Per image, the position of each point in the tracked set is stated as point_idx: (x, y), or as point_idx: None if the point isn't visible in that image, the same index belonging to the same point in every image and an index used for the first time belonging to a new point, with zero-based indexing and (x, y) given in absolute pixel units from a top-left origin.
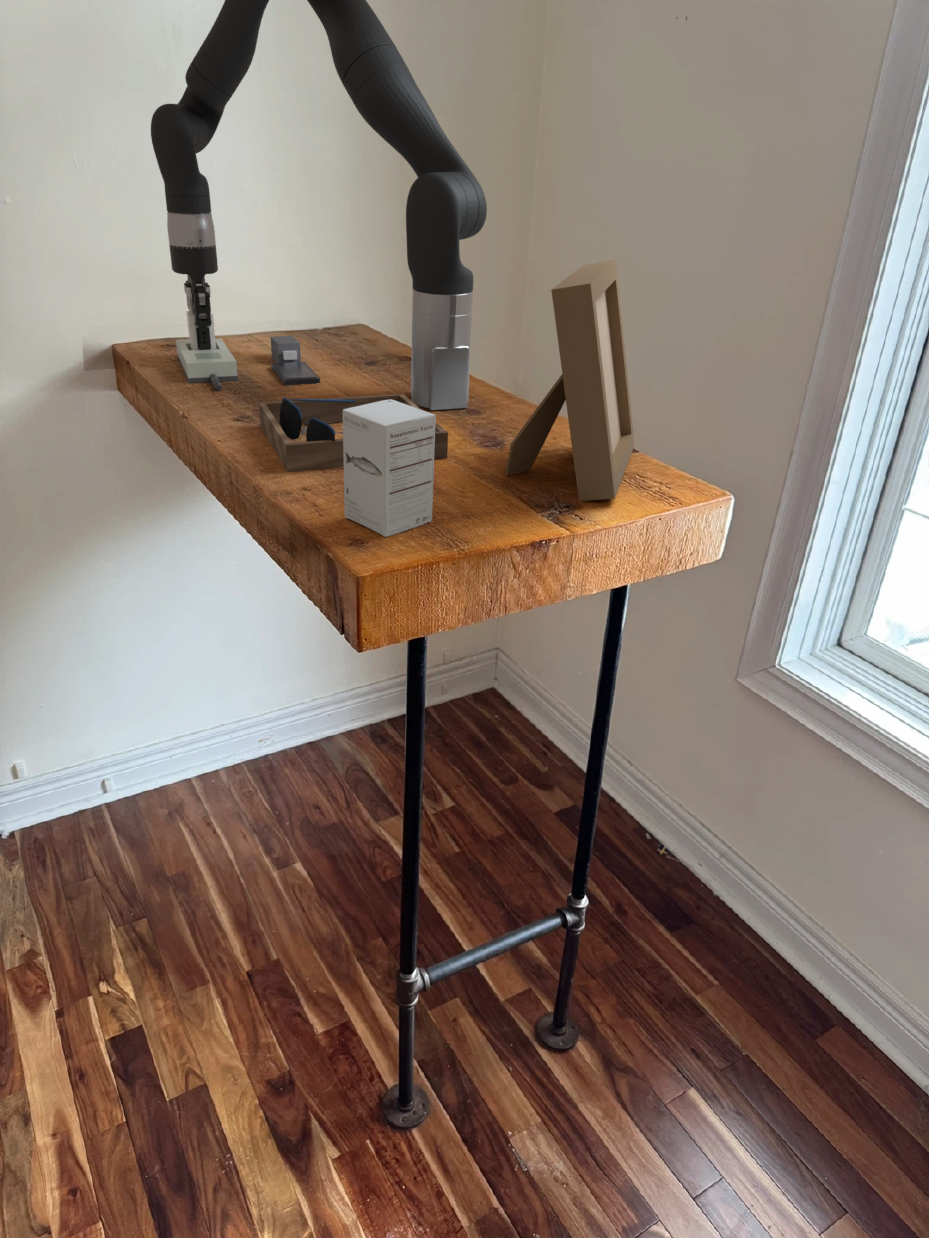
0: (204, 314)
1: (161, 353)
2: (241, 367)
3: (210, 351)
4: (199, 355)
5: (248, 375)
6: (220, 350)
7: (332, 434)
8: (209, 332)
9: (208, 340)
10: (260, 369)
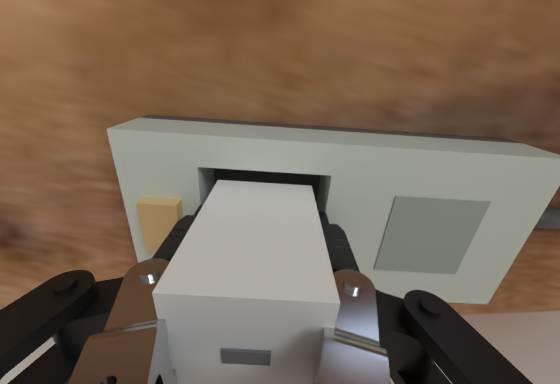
0: (304, 342)
1: (109, 271)
2: (336, 83)
3: (357, 217)
4: (409, 261)
5: (462, 85)
6: (356, 180)
7: None
8: (336, 254)
9: (347, 242)
10: (398, 7)
